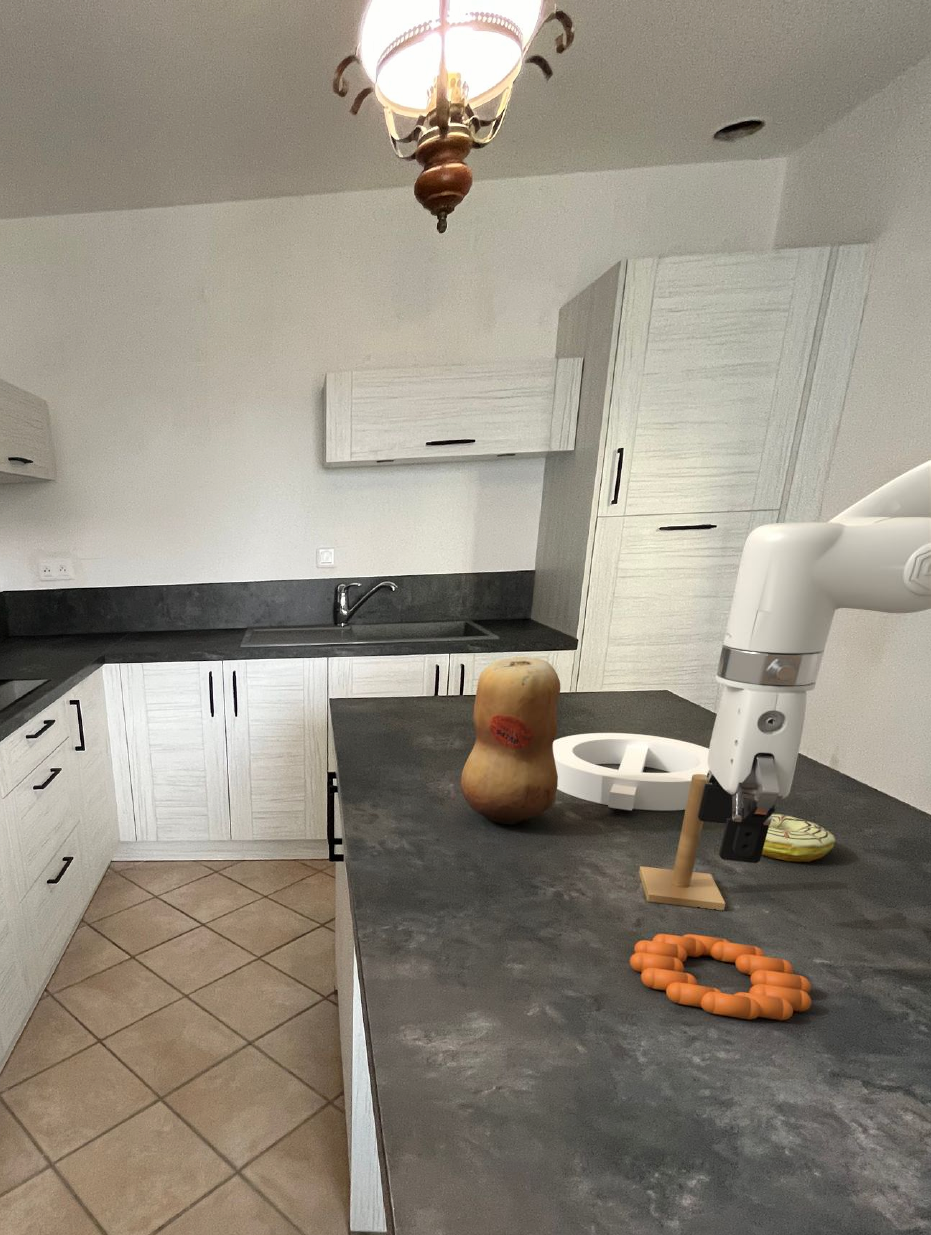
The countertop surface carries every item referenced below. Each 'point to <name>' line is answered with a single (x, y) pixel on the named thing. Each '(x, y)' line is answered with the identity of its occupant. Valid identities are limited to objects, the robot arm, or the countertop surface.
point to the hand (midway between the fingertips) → (726, 839)
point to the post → (685, 864)
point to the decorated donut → (796, 839)
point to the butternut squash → (513, 741)
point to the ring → (766, 998)
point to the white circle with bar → (628, 769)
